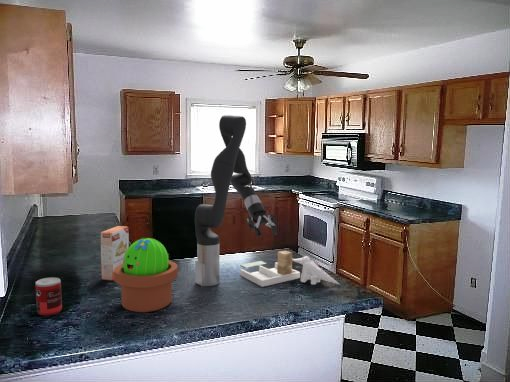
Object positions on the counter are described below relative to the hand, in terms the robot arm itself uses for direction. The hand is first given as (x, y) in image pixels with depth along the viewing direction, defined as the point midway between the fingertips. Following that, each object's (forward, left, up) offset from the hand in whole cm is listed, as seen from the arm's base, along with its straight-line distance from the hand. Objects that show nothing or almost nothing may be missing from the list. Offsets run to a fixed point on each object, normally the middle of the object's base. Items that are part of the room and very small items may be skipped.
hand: (268, 235), depth 187 cm
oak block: (0, -12, -16) cm, 20 cm away
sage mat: (0, +8, -17) cm, 19 cm away
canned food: (-90, +5, -17) cm, 92 cm away
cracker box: (-60, +31, -17) cm, 70 cm away
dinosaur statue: (+7, -24, -17) cm, 31 cm away
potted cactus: (-59, -6, -17) cm, 62 cm away
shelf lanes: (-5, -8, -17) cm, 20 cm away
